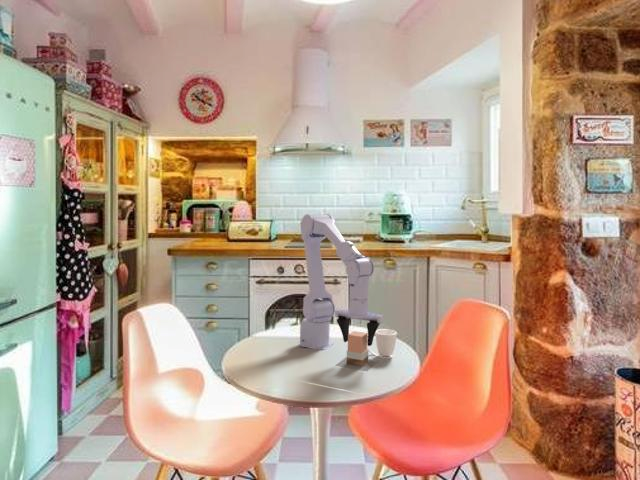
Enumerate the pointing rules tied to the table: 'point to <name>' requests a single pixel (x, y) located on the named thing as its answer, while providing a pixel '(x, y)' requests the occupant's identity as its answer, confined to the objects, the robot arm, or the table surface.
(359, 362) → the tower base
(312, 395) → the table surface
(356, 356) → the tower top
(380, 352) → the cup
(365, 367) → the coaster
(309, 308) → the robot arm
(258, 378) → the table surface
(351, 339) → the block
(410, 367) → the table surface
